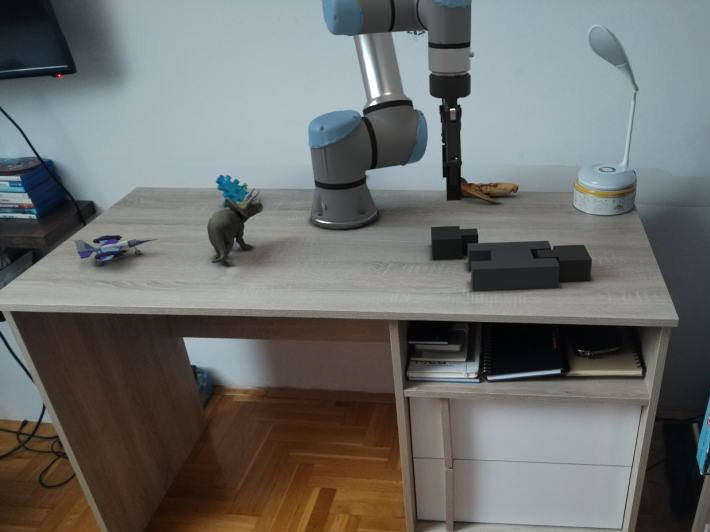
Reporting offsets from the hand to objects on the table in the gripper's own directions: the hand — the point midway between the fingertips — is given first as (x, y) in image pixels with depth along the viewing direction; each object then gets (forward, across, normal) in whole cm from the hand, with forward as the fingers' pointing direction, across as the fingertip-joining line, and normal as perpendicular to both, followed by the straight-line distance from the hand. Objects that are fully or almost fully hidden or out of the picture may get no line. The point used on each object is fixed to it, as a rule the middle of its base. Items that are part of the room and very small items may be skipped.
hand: (451, 188), depth 127 cm
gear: (+14, +34, +51) cm, 63 cm away
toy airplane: (+14, +4, +69) cm, 71 cm away
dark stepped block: (+14, -12, -20) cm, 27 cm away
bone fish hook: (+14, +33, -10) cm, 37 cm away
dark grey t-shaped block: (+14, 0, -1) cm, 14 cm away
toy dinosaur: (+14, +3, +46) cm, 48 cm away
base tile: (+14, -12, -11) cm, 21 cm away
